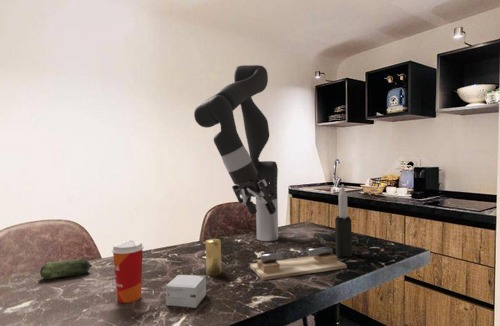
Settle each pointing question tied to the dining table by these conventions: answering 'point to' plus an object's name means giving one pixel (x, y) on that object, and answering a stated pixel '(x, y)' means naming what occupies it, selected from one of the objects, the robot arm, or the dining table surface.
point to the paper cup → (128, 270)
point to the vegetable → (65, 268)
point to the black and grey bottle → (343, 228)
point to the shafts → (284, 256)
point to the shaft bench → (296, 266)
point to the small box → (186, 291)
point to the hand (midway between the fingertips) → (263, 213)
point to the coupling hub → (213, 257)
